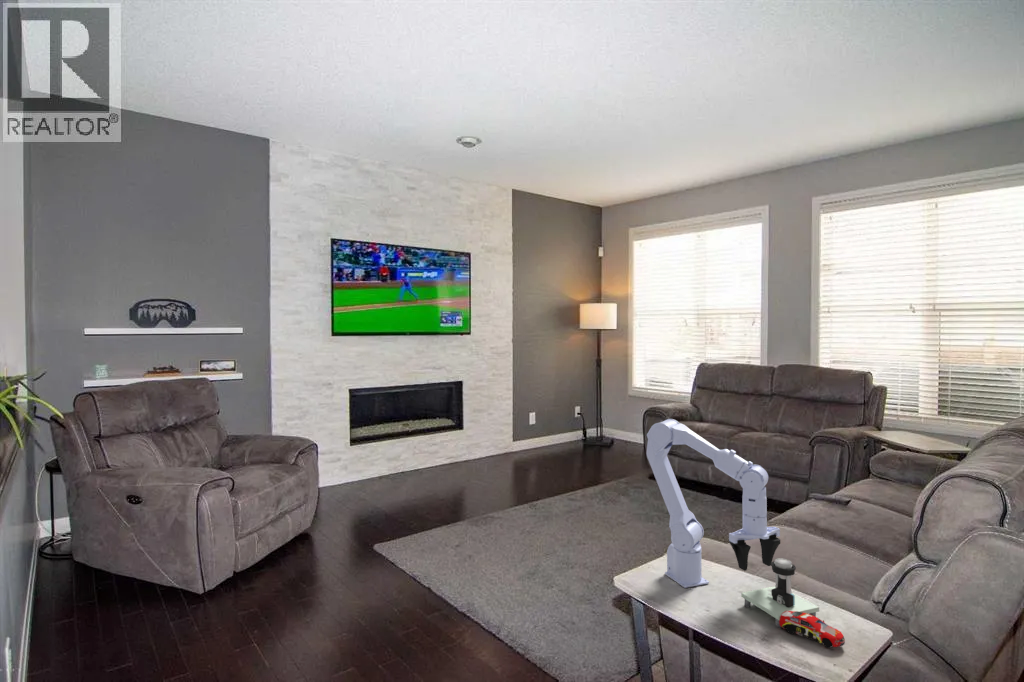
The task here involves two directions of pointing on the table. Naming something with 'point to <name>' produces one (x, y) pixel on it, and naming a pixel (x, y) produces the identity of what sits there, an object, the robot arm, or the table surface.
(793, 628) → the race car
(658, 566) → the table surface
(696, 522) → the robot arm
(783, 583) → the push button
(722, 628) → the table surface
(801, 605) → the stand
